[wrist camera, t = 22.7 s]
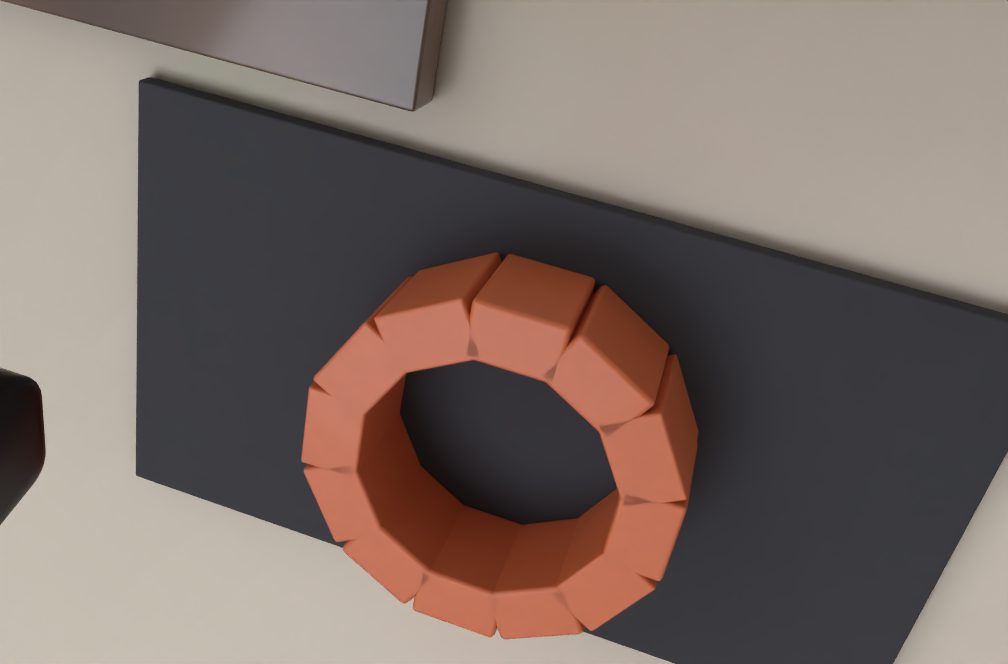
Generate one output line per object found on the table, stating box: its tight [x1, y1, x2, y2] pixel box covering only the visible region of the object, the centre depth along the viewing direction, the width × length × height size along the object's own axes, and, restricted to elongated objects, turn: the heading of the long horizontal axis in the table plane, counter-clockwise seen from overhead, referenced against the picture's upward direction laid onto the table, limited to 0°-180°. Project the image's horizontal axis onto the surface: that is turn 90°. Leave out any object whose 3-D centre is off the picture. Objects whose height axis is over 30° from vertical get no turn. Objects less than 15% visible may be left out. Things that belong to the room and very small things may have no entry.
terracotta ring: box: [301, 252, 699, 639], centre depth 19 cm, size 7×7×2 cm
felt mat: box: [136, 77, 1008, 664], centre depth 20 cm, size 18×10×1 cm, turn 79°
